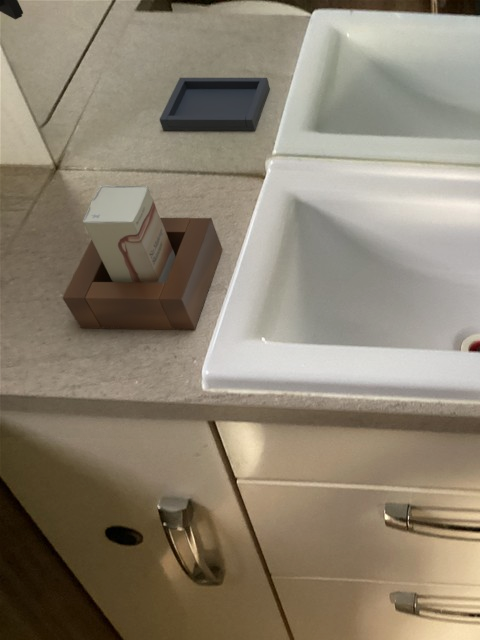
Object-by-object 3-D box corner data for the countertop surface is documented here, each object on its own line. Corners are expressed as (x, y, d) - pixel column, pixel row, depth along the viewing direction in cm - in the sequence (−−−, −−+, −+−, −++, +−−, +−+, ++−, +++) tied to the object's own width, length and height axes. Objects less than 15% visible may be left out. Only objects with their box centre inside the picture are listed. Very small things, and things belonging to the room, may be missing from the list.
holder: (80, 328, 71) (61, 297, 68) (117, 248, 78) (102, 217, 75) (195, 329, 71) (181, 299, 68) (222, 249, 77) (211, 217, 74)
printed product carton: (170, 307, 73) (131, 224, 65) (123, 307, 73) (78, 224, 65) (184, 267, 76) (149, 183, 68) (139, 267, 76) (98, 183, 68)
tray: (163, 130, 90) (159, 119, 89) (183, 88, 96) (179, 77, 94) (255, 131, 90) (251, 119, 89) (270, 88, 95) (267, 77, 94)
